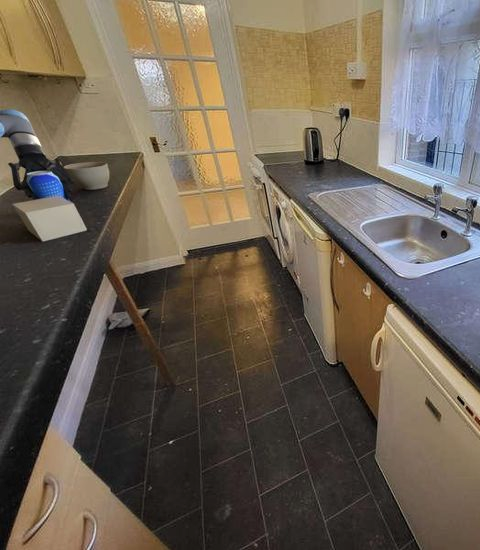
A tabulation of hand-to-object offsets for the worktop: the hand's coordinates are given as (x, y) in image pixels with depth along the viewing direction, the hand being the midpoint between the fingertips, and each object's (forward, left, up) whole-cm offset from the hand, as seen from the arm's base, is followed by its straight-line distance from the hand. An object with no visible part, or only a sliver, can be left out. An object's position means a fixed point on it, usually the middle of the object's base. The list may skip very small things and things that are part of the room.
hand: (54, 201), depth 109 cm
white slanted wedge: (+15, -5, -6) cm, 17 cm away
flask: (-59, +15, -6) cm, 61 cm away
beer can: (-3, +1, -6) cm, 7 cm away
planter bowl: (-39, +24, -6) cm, 46 cm away
